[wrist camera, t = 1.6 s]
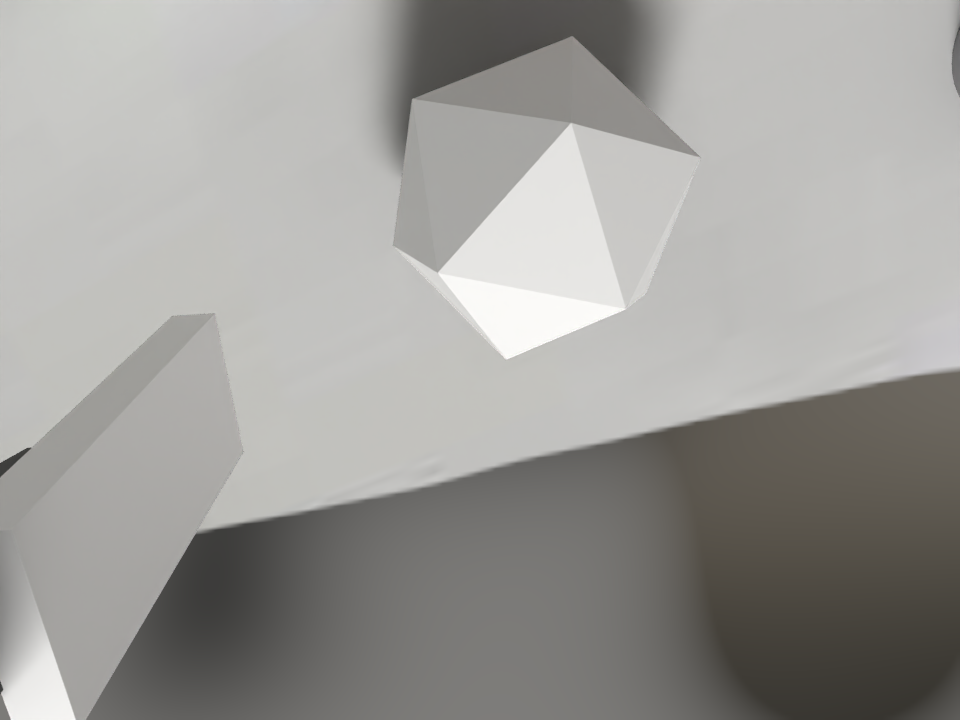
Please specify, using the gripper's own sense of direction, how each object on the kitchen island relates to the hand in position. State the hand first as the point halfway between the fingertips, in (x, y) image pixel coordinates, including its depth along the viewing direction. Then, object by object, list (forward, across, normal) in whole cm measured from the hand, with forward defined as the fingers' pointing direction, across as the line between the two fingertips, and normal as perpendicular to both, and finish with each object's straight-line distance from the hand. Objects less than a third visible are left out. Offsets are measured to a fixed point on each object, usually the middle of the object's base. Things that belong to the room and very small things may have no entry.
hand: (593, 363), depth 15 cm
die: (+16, -1, 0) cm, 16 cm away
